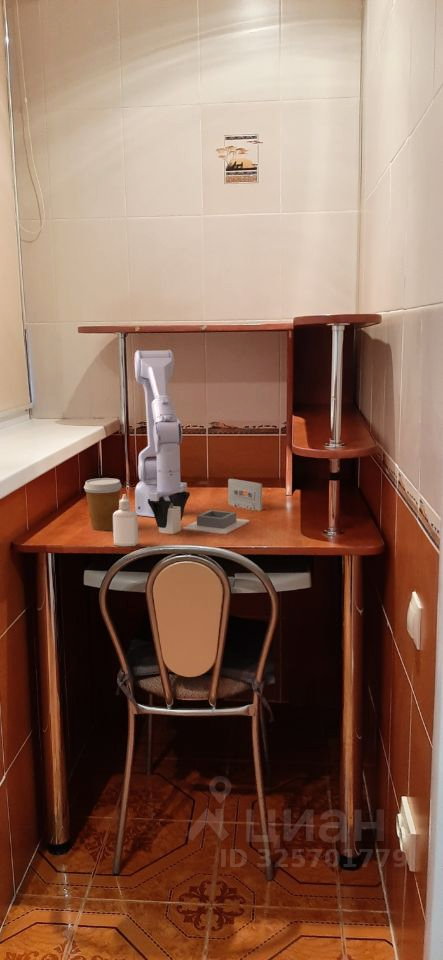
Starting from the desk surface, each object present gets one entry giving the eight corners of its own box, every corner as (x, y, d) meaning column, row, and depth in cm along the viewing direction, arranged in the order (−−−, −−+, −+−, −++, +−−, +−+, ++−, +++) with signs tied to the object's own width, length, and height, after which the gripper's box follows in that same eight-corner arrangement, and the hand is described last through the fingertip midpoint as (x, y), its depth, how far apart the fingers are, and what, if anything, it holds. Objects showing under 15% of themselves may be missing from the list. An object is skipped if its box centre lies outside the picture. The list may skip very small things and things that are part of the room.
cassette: (263, 510, 214) (263, 483, 212) (259, 511, 212) (259, 484, 211) (231, 504, 222) (231, 478, 220) (226, 505, 220) (226, 479, 219)
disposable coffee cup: (106, 534, 190) (104, 486, 188) (77, 529, 195) (75, 482, 193) (131, 525, 198) (129, 480, 196) (102, 521, 203) (101, 476, 201)
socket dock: (182, 529, 194) (182, 517, 194) (208, 517, 207) (208, 506, 206) (225, 534, 189) (225, 522, 188) (249, 521, 201) (249, 510, 201)
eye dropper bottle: (127, 548, 177) (125, 497, 175) (111, 544, 181) (109, 494, 179) (141, 544, 181) (139, 494, 178) (124, 540, 184) (123, 491, 182)
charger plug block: (158, 532, 192) (158, 504, 190) (167, 528, 195) (166, 501, 194) (172, 534, 190) (172, 506, 189) (180, 530, 193) (180, 503, 192)
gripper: (167, 476, 181) (168, 532, 184) (197, 466, 194) (197, 519, 197) (141, 474, 185) (143, 529, 187) (172, 464, 197) (174, 516, 200)
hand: (169, 523), depth 192 cm, fingers open, 7 cm apart
